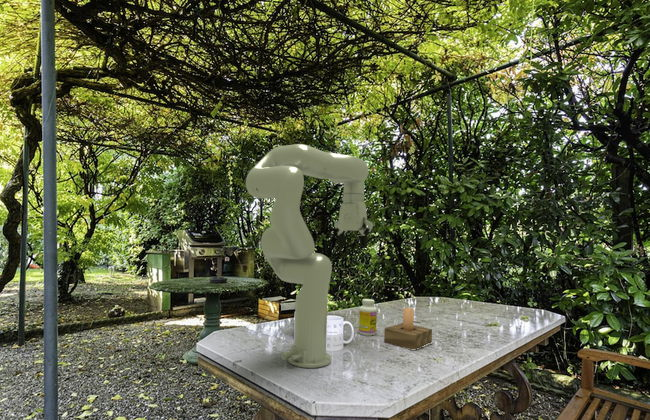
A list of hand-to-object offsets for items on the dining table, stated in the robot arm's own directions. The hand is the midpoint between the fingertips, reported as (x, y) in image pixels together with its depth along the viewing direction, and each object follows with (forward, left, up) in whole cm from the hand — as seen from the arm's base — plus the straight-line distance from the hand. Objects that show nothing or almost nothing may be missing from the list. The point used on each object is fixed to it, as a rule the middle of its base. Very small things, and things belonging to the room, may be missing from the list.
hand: (352, 246), depth 132 cm
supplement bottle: (+13, +2, -34) cm, 36 cm away
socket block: (+14, -15, -33) cm, 39 cm away
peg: (+14, -15, -33) cm, 39 cm away
